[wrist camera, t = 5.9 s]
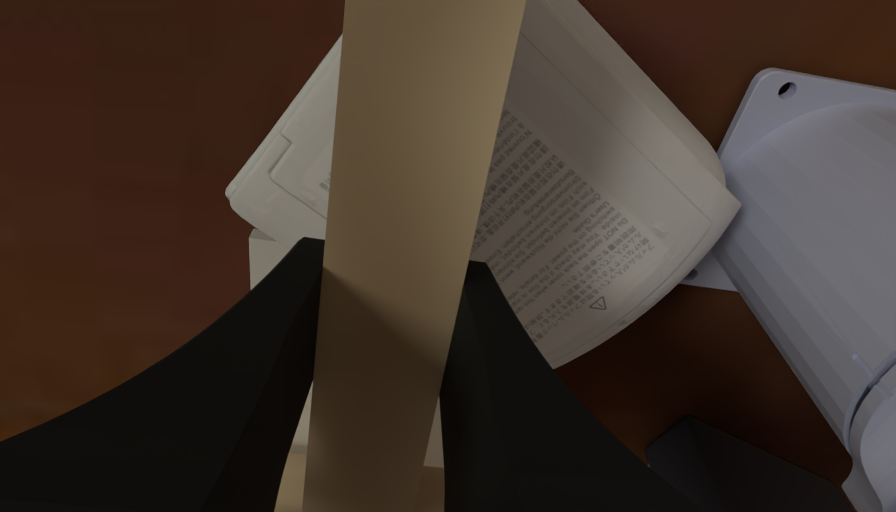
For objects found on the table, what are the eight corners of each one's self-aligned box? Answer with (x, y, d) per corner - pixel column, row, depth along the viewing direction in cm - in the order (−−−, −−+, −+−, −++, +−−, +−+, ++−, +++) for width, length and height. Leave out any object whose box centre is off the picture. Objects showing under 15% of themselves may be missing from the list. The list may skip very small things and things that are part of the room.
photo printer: (248, 160, 19) (518, 348, 23) (199, 223, 15) (531, 433, 19) (454, -126, 14) (736, 168, 19) (455, -136, 11) (806, 232, 15)
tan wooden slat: (597, -68, 11) (675, -78, 8) (452, 482, 18) (459, 608, 15) (286, -133, 10) (214, -179, 7) (264, 463, 18) (223, 591, 14)
